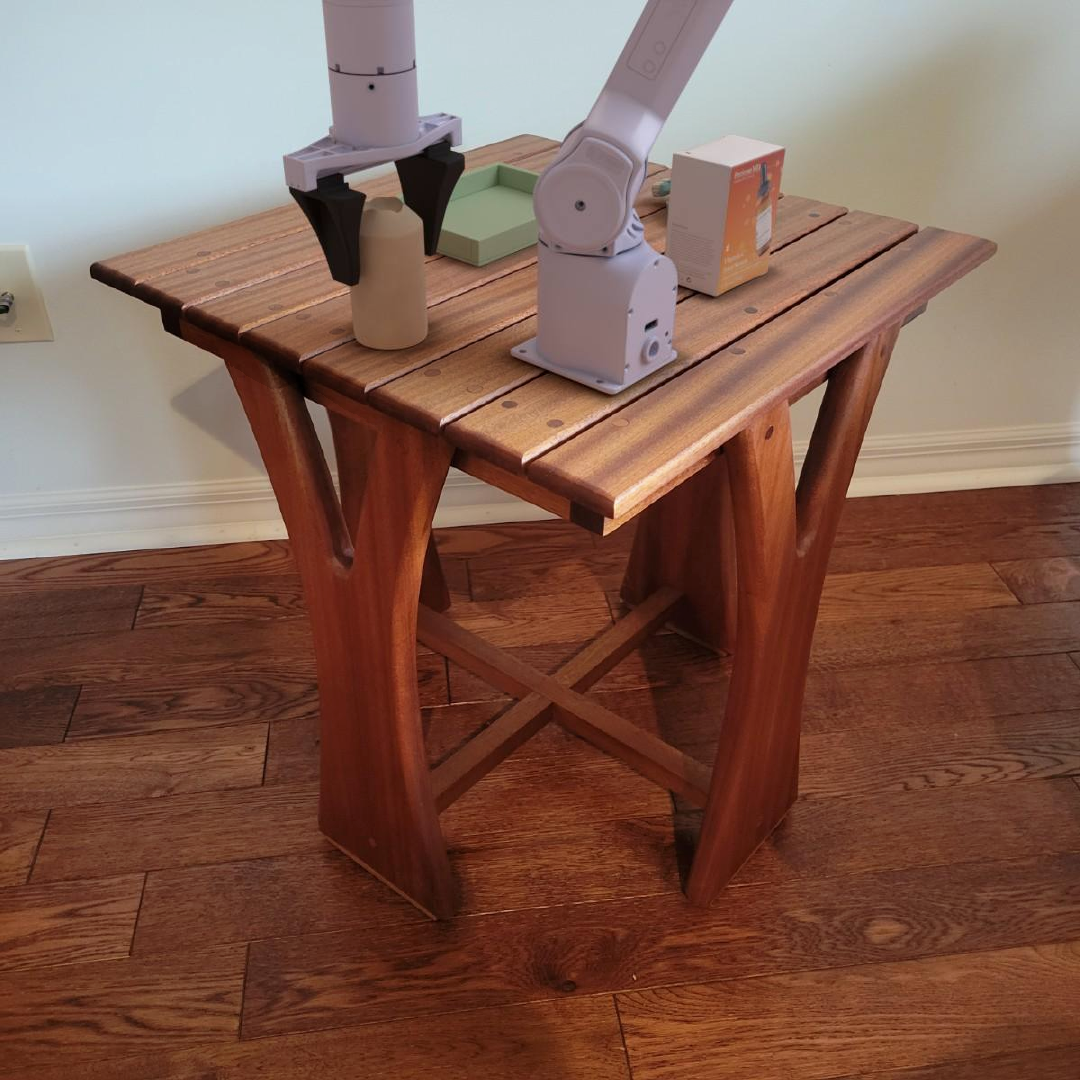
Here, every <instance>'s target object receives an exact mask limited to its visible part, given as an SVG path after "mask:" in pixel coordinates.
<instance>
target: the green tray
mask: <svg viewBox="0 0 1080 1080" xmlns="http://www.w3.org/2000/svg"><path fill="white" fill-rule="evenodd" d="M540 174H541V172H537V171H534V170H530V169H526V168H523V167H519V166H516V165H512V164H509V163H505V162H501V161H495V162H491V163H489V164H486V165H483V166H480V167H476V168H473V169H470V170H467V171H465V172H464V171H463V173H462V174H461V176H460V178H459V180H458V182H457V184H456V186H455V188H454V190H453V192H452V195H451V197H450V200H449V203H448V205H447V209H446V212H445V216H444V220H443V223H442V228H441V232H440V237H439V242H438V246H437V251H436V254H437V253H438V254H440V255H443V256H447V257H449V258H452V259H455V260H458V261H460V262H463V263H467V264H469V265H472V266H475V267H477V268H480V267H483V266H484V265H487V264H489V263H492V262H495V261H497V260H500V259H502V258H504V257H506V256H509V255H511V254H513V253H516V252H519V251H521V250H523V249H525V248H528V247H530V246H533V245H535V244H538V225H539V224H538V222H537V220H536V217H535V214H534V209H533V191H534V187H535V184H536V181H537V179H538V177H539V175H540ZM391 197H397V198H399V199H400V200H401V201H402V202H403V203H404V198H403V192H401V193H398V194H395V195H392V196H391ZM404 204H405V203H404Z"/></svg>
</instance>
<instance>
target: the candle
mask: <svg viewBox="0 0 1080 1080" xmlns="http://www.w3.org/2000/svg"><path fill="white" fill-rule="evenodd" d="M359 250H360V280H359V284H358V285H355V286H349V294H350V295H349V296H350V306H351V316H352V317H351V319H352V327H353V333H354V338H355V340H356V342H358V343H359V344H361V345H363V346H365V347H367V348H370V349H376V350H386V351H387V350H388V351H389V350H390V351H391V350H401V349H407V348H410V347H413V346H416V345H418V344H420V343H422V342H423V341H424V340H425V339H426V338H427V337H428V333H429V332H428V330H429V327H428V326H429V324H428V323H429V322H428V300H427V279H426V260H425V259H426V258H425V257H426V255H424V235H423V221H422V219H421V218H420V217H419V216H418V215H417V214H416V213H415V212H414V211H412V210H411V209H410V208H409V207H408V206H406V205H405V204H404V203H403V202H402V201H401V200H400V199H399V198H397V197H392V196H376V197H373V198H372V199H370V200H369V201H365V204H364V207H363V212H362V217H361V224H360V235H359Z"/></svg>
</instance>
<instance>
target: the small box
mask: <svg viewBox="0 0 1080 1080" xmlns="http://www.w3.org/2000/svg"><path fill="white" fill-rule="evenodd" d="M785 155H786V147H784V146H782V145H778V144H773V143H769V142H765V141H761V140H757V139H752V138H748V137H744V136H740V135H736V134H731V133H730V134H726V135H724V136H722V137H720V138H717V139H715V140H712V141H709V142H706V143H703V144H700V145H698V146H695V147H691V148H688V149H685V150H679V151H676V152H673V153H672V163H671V173H670V175H671V176H670V178H671V185H670V194H669V195H668V197H669V198H668V201H669V207H668V209H667V219H666V221H667V222H666V231H665V232H666V233H665V243H664V255H663V256H665V257H667V258H669V259H670V260H672V262H673V263H674V265H675V267H676V271H677V276H678V285H679V286H681V287H685V288H687V289H691V290H694V291H697V292H700V293H703V294H706V295H709V296H712V297H718V296H720V295H723V294H724V293H725V292H728V291H729V290H732V289H733V288H736V287H737V286H740V285H742V284H744V283H746V282H749V281H751V280H753V279H756V278H757V277H760V276H763V275H765V274H767V273H768V271H769V267H770V266H769V265H770V258H771V251H772V246H773V245H772V243H773V239H774V231H775V224H776V217H777V209H778V202H779V196H780V190H781V182H782V177H783V169H784V162H785Z"/></svg>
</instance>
